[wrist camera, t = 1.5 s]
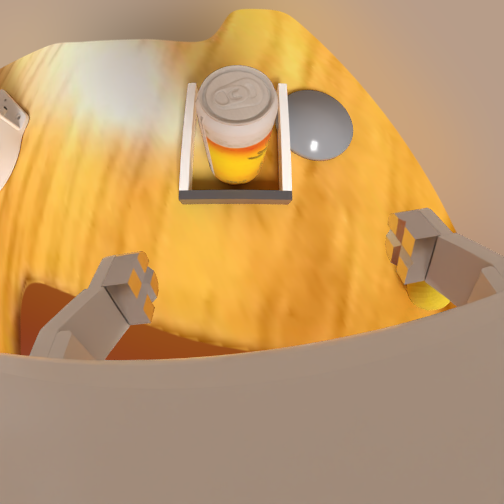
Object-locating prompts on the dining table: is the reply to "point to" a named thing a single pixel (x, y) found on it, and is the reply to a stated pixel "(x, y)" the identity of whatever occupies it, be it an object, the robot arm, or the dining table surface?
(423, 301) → the lemon
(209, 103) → the beer can
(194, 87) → the channel
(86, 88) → the dining table surface
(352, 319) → the dining table surface
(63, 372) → the robot arm
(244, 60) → the dining table surface
